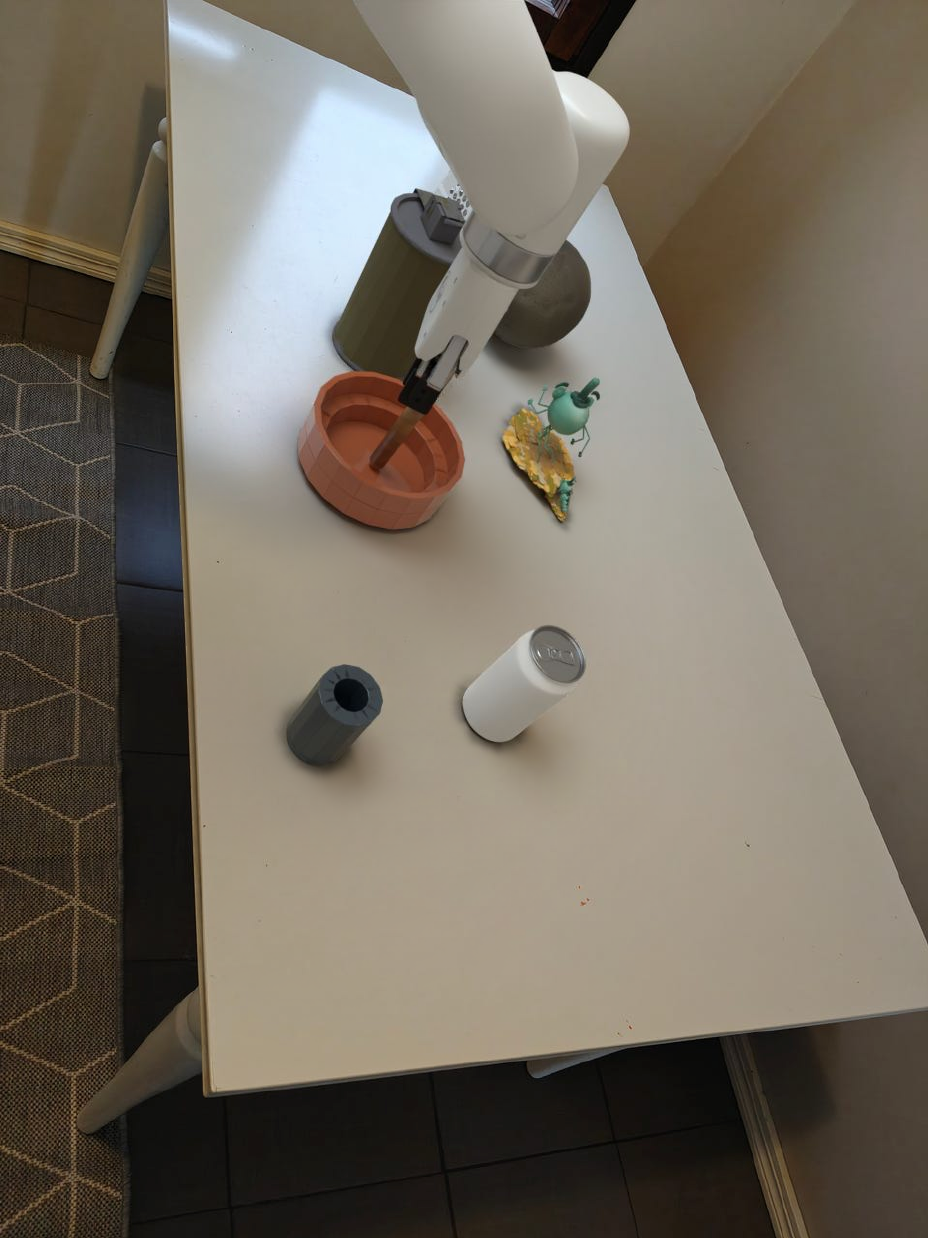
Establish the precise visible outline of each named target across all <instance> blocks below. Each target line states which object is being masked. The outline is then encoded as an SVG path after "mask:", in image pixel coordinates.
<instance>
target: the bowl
mask: <svg viewBox="0 0 928 1238" xmlns="http://www.w3.org/2000/svg"><path fill="white" fill-rule="evenodd" d="M403 387H404V385H403V381H400V380H398V379H396V378H393V377H390V376H386V375H383V374H379V373H376V372H364V371H356V370H351V371H348V372H344V373H340V374H336V375H333V376H332V378H330V379H328V380H327V381H326V382H325V383H324V384H323V385H322V386H321V387H319V390H318V391H317V394H316V395H315V397H314V400H313V402H312V404H311V406H310V408H309V410H308V412H307V414H306V416H305V419H304V421H303V422H302V425H301V427H300V430H299V433H298V435H297V456H298V457H297V458H298V459H299V462H300V465H301V467H302V470H303V471H304V474H305V476H306V479H307V480H308V481H309V482H310V484H311V485H312V486H313V487H314V489H315V490H316V491H317V492H318V494H319V495H320V496H321V497H322V498H323V499H324V500H325V501H327V502H328V503H329V504H331V505H332V506H333V507H334V508H335V509H337V510H338V511H339V512H341V513H342V514H343V515H345V516H348V517H349V518H352V519H354V520H356V521H358V522H361V523H363V524H365V525H368V526H372V527H378V528H383V529H386V530H403V529H412V528H415V527H417V526H420V525H421V524H423V523H425V522H428V521H430V520H431V519H432V517H433V516H434V515H435V513H437V511H438V509H440V507H441V506H442V504H443V503H444V501H446V499H447V498H448V496H449V495H450V494H451V492H452V491H453V489H454V488H455V487H456V485H457V484H458V482H459V481H460V480H461V479H462V477H463V473H464V472H463V471H464V467H465V463H466V458H465V452H464V447H463V442H462V439H461V437H460V435H459V433H458V430H457V429H456V427H455V425H454V423H453V422H452V420H451V419H450V417H448V416H447V414H446V413H445V412H444V411H443V409H442V408H440V406H439V405H438V404H437V403H436V402H435V403H434V405H433V406H432V408H431V409H430V411H429V413H428V414H427V415H423V417H422V418H421V419H420V421H419V422H418V423H417V424H416V426H415V427H414V428H413V430H412V431H411V432H410V434H409V435H408V436H407V438H406V439H405V440H404V442H403V443H402V444H401V445H400V447H399V448H398V449H397V451H396V452H395V453H394V455H393V456H392V457H391V459H390V460H389V461H388V463H387V464H386V465H385V466H384V467H383V468H382V469H375V468H373V467H372V466H371V465H370V461H369V459H370V456H371V455H372V453H373V452H374V451H375V449H376V448H377V446H378V445H379V444H380V442H381V441H382V440H383V438H384V437H385V436H386V434H387V433H388V431H389V430H390V429H391V427H392V426H393V425H394V423H395V422H396V421H397V419H398V418H399V416H400V415H401V414H402V412H403V411H404V410H405V408H406V407H407V406H405V405H403V404H402V403H400V402H399V401H398V396H399V394H400V392H401V390H402V389H403Z"/></svg>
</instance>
